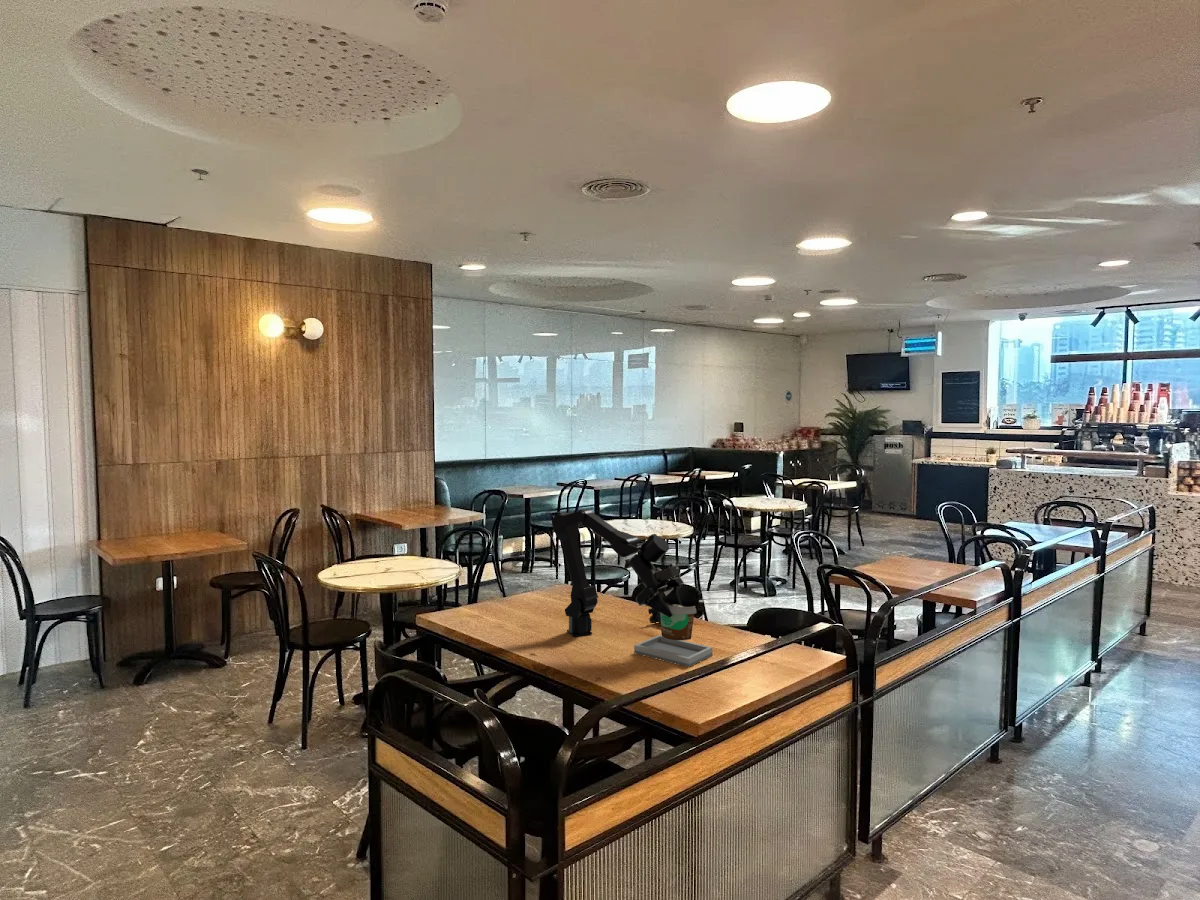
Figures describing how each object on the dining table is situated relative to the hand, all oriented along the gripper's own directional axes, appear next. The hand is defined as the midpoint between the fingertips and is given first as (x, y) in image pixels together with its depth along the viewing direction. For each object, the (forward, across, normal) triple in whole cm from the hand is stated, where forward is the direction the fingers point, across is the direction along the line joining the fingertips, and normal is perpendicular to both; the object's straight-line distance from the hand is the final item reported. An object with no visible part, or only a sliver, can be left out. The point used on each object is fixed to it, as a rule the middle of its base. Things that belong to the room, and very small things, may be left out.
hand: (676, 614), depth 215 cm
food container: (+4, 0, +6) cm, 8 cm away
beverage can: (-3, +24, +21) cm, 32 cm away
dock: (+8, 0, +10) cm, 12 cm away
